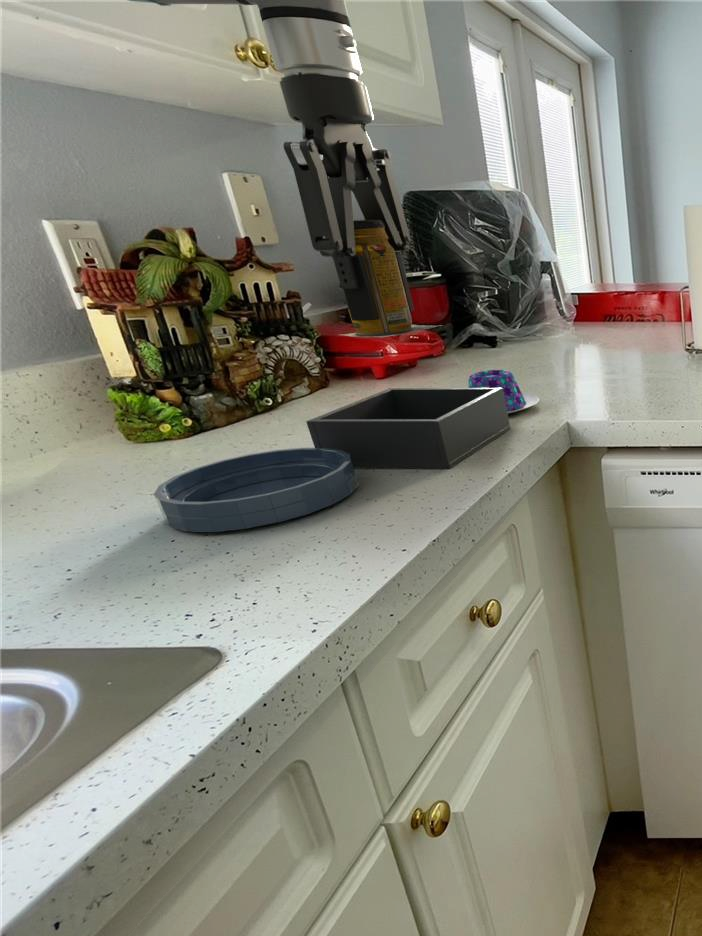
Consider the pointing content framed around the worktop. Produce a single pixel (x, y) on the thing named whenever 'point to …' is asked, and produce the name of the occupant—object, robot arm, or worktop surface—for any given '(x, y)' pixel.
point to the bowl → (256, 489)
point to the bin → (414, 427)
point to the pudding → (510, 388)
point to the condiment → (382, 284)
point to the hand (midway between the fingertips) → (384, 314)
